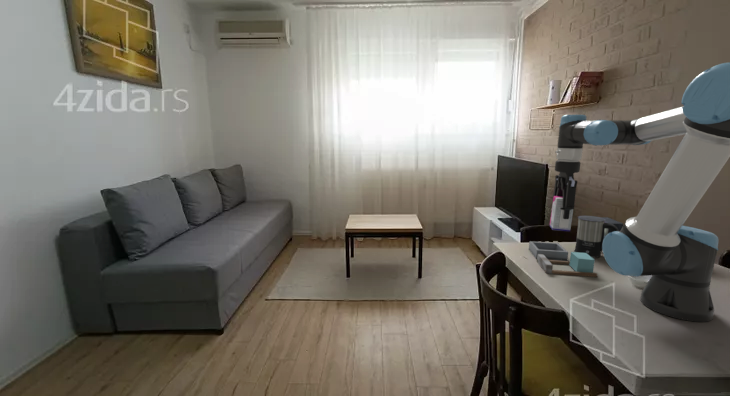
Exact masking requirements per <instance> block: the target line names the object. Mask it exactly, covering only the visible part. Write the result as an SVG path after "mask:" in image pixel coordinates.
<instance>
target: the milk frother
mask: <svg viewBox="0 0 730 396" xmlns="http://www.w3.org/2000/svg"><path fill="white" fill-rule="evenodd" d="M577 219H578V223H577V230H576V232H577V233H576V241H575V248H574V251H573V252H579V253H587V254H588V255H589V256H591V257H592V258H600V257H602V253H603V249H602V244H603V239H604V229H605V228H606V229H610V230H611V231H612V232H614V231H619V230H618V228H617V227H616V226H615V225H613V224H610V223H604V221H605V219H604V218H603V217H601V216H600V217H599V216H594V215H579V216H577Z"/></svg>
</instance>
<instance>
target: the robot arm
mask: <svg viewBox="0 0 730 396" xmlns="http://www.w3.org/2000/svg"><path fill="white" fill-rule="evenodd" d="M681 105H683V106H679V107H675V108H672V109H667V110H665V111H664V110H663V111H662V112H657V113H653V114H649V115H646V116H645V115H644V116H643V117H638V118H635V119H631V120H629V119H627V120H624V119H623V120H616V119H615V120H611V119H610V120H609V119H594V120H587V115H585V114H565V115H562V116H561V117H560V122H559V123H560V125H559V126H558V128H559V130H558V138H557V147H556V150H555V154H556V157H555V158H556V159H557V160H555V164H554V171H555V172H557V173H559V174H558V175H557V174H556V175H555V179H554V180H555V181H554V189H553V195H552V196H553V197H554V196H562V197H563V208H560V209H561V215H560V223H559V227H560V228H568V226H569V218H570V210H571V209H573V210H574V209H575V203H576V202H575V201H576V200H575V199H576V195H577V193H576V192H577V187H578V186H577V185H578V180H575V177H574V175H575V173H580V170H581V160H582V159H583V151H584V149H583V148H584V145H592V146H607V145H608V146H609V145H610V146H611V145H612V146H614V145H615V146H616V145H620V146H621V145H632V146H642V145H647V144H650V143H651V142H653V141H657V140H662V139H667V138H672V137H679V136H683V135H684V136H683V138H682V140H681V141H680V143H679V144H678V146H677V147H676V149H675V152H674V153H673V155H672V156H671V158H670V160H669V161H668V163H667V165H666V166H665V169H664V170H663V172H662V173H661V175H660V177H659V178H658V180H657V182H656V183H655V185H654V186H653V189H652V190H651V192H650V194H649V195H648V197H647V199H646V200H645V202H644V204H643V205H642V207H641V209H640V210H639V212H638V213H637V215H636V216H631V217H629V218H627V219H626V220H625V223H623V227H622V229H621V230H620V231H614V232H611V233H609V234H607V235H606V236H605V238H604V240H603V244H602V253H603V256H604V257H603V258H604V259H605V260H604V261H605V262H606V263H607V266H609V267H610V268H611V269H612V271H613V272H615V273H617V274H618V275H622V276H625V277H643V276H646V277H647V276H651V277H650V279H649V280H648V282H647V283H646V284H645V286H644V287H643V289H642V290H641V293H640V301H641V303H642V304H643V305H644V306H645V307H647V308H648V309H651V310H652V311H655V312H657V313H659V314H661V315H665V316H667V317H671V318H674V319H678V320H683V321H688V322H696V323H697V322H699V323H701V322H702V323H703V322H704V323H705V322H710V321H712V320H713V319H714V314H715V307H714V303H713V299H712V294H711V290H710V288H711V286H710V285H711V281H712V278H713V277H712V276H713V271H714V268H715V264H716V263H715V262H716V258H717V253H718V251H719V248H718V247H719V236H717V234H715V233H713V232H711V231H707V230H703V229H700V228H696V227H691V226H687V225H684V224H685V223H686V221H687V219H688V218H689V217H690V215H691V213H693V210H695V208H696V206H697V205H698V204H699V202H700V201H701V199H702V198H703V196H704V195H705V194H706V192H707V190H708V189H709V188H710V186H711V185H712V183H713V182H714V181H715V179H716V178H717V176H718V175H719V173H720V172H721V170H722V169H723V167H724V166H725V164H726V163H727V161H728V160H729V159H730V62H723V63H719V64H716V65H714V66H711V67H710V68H707V69H705V70H704V71H702V72H701V73H699V74H698V75H697V76H696V77H695V78H693V79H692V81H690V82H689V84H688V86H686V89H685V90H684V92H683V94H682V98H681ZM553 197H552V198H553Z"/></svg>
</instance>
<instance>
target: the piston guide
mask: <svg viewBox="0 0 730 396" xmlns="http://www.w3.org/2000/svg"><path fill="white" fill-rule="evenodd" d="M536 262H537V263H538V265H539V266H540V268H541V269H542V271H544V273H545V274H554V275H555V274H556V275H567V276H580V277H592V278H593V277H594V278H598V273H597V272H593V273H588V272H576V271H575V270H574V271H572V270H562V269H561V270H559V269H554V265H553V264H555V265H556V264H557V265H567V266H570V265H569V264H570V260H569V261H568V260H567V261H560V260H548V259H547V258H546V257H545V256H544V255H543V254H538V255H537V259H536Z"/></svg>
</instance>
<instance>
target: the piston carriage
mask: <svg viewBox="0 0 730 396" xmlns="http://www.w3.org/2000/svg"><path fill="white" fill-rule="evenodd" d="M569 261H570V264H569V265H568V266H570V267H571V268H572V269H573V270H574V271H575V272H588V273H594V269H595V261H596V260H595V258H594V257H591V256H589V255H588V254H587V253H579V252H574V251H571V252H570V257H569Z"/></svg>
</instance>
